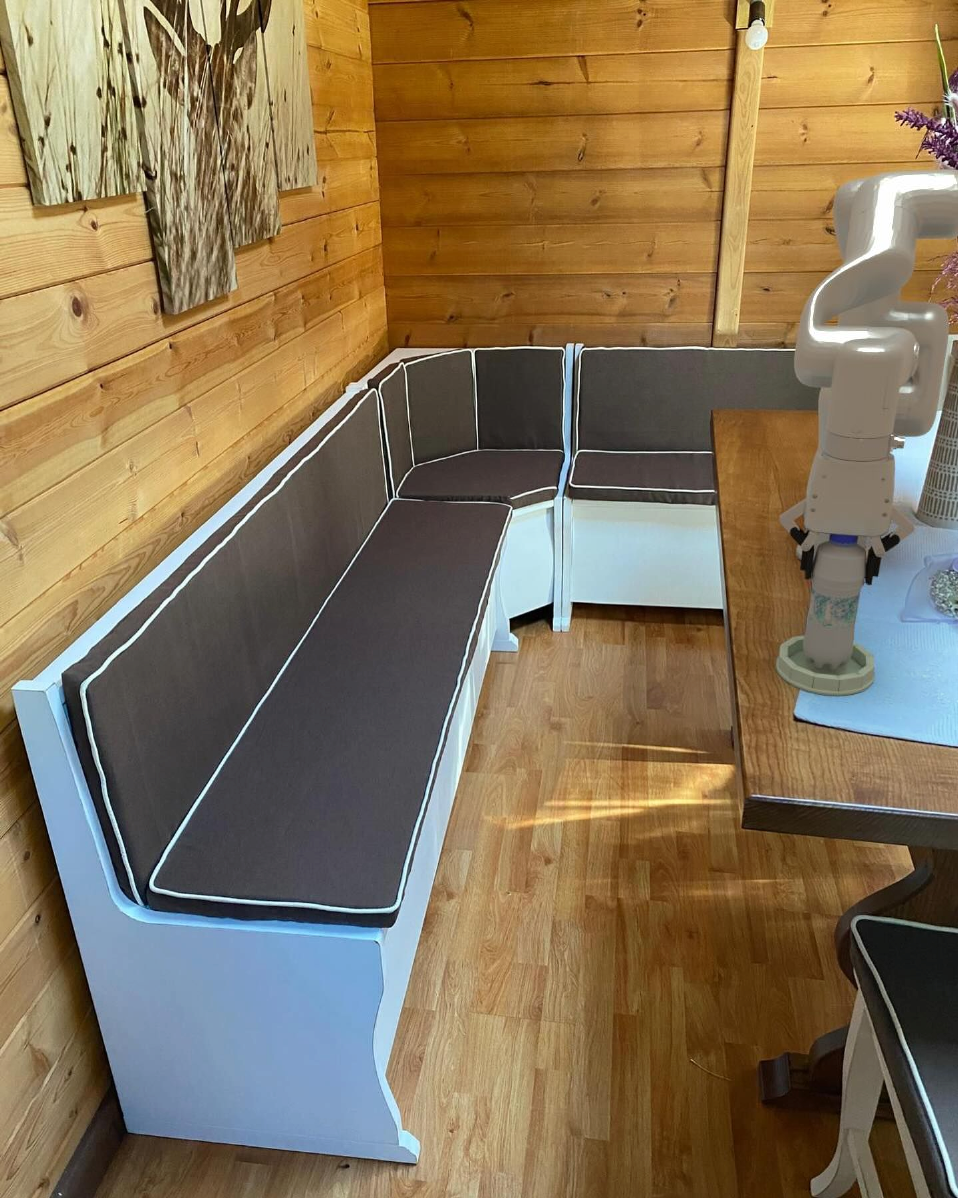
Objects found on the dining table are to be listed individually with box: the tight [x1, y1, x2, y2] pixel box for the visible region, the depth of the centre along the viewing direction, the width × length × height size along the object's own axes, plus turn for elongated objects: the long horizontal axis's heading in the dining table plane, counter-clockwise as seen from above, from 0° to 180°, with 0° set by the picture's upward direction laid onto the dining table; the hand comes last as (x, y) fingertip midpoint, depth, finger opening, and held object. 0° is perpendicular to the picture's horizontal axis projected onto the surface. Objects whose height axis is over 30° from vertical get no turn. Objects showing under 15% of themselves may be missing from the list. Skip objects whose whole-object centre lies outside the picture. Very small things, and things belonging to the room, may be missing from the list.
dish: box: [775, 635, 876, 697], centre depth 122 cm, size 13×13×2 cm
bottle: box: [803, 534, 866, 670], centre depth 118 cm, size 7×7×20 cm
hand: (837, 576), depth 117 cm, fingers closed on bottle, 6 cm apart
